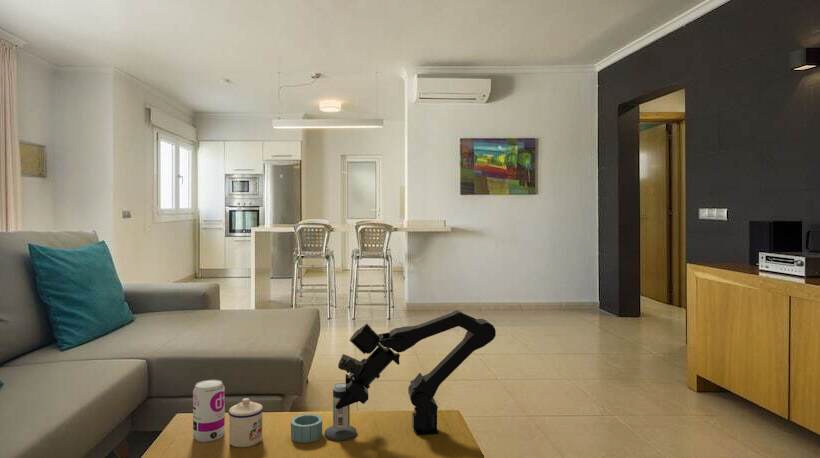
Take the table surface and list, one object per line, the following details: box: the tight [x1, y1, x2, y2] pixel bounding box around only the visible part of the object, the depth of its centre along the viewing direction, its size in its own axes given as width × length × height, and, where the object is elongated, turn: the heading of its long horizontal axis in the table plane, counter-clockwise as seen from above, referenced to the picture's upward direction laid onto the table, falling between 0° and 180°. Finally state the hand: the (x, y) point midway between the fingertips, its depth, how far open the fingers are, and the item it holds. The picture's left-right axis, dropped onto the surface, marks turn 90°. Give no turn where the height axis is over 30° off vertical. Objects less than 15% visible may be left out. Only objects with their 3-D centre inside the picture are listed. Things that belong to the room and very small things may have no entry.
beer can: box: [332, 382, 351, 429], centre depth 145 cm, size 5×5×12 cm
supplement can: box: [192, 379, 226, 443], centre depth 143 cm, size 8×8×15 cm
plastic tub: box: [290, 413, 323, 444], centre depth 143 cm, size 9×9×5 cm
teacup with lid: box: [228, 397, 264, 448], centre depth 142 cm, size 12×9×12 cm
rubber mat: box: [324, 425, 357, 442], centre depth 145 cm, size 9×9×1 cm
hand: (336, 404), depth 145 cm, fingers closed on beer can, 5 cm apart
